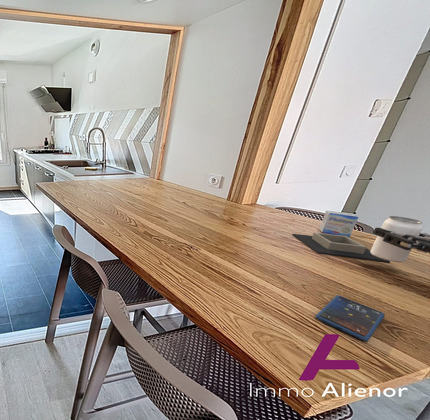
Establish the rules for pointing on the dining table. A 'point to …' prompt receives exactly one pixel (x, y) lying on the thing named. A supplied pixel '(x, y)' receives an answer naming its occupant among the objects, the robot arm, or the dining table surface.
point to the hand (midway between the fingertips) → (388, 230)
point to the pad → (337, 246)
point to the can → (397, 226)
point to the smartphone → (351, 317)
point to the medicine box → (338, 223)
